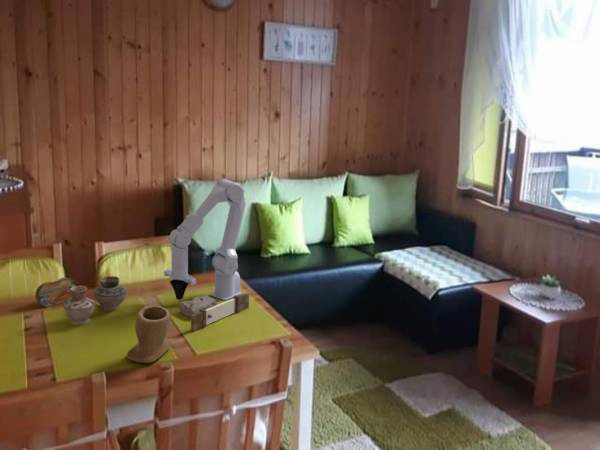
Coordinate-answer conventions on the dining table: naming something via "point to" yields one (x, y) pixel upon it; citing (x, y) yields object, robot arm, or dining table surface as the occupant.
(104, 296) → the pottery
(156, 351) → the stone cup
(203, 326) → the wooden plank
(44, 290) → the tin
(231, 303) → the door
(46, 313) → the dining table surface
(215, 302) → the stone
